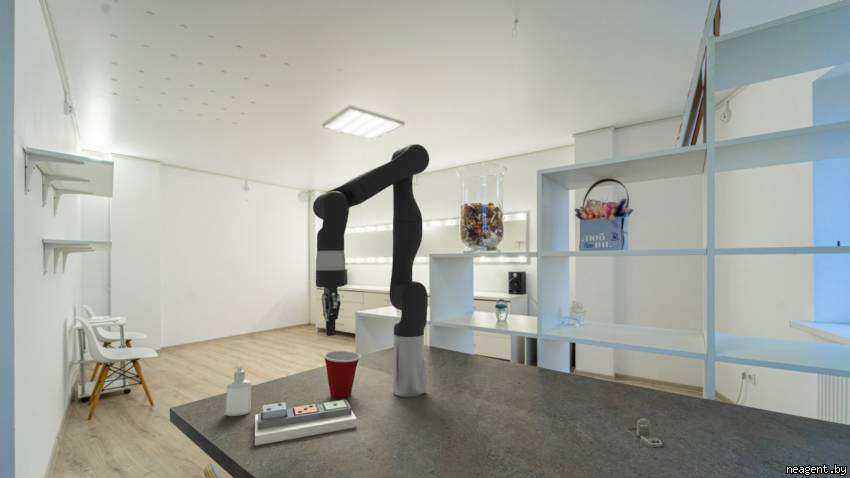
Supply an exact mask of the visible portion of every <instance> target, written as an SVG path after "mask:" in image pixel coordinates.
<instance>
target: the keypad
mask: <svg viewBox="0 0 850 478" xmlns="http://www.w3.org/2000/svg"><path fill="white" fill-rule="evenodd" d="M342 400H343V401H344V402H345V404H346V405H347V408H342V409H336V410H330V411H325V410H324V407H323V403H328V402H329V401H326V402H318V403H313V404H312V403H311V404H310V405H314V404H315V405H316V408H317V410H318V412H317V413H311V414H304V415H298V416H294V407H295V406H292V407H286V408H287V413H286V416H280V417H273V418H267V419H263V411H259V412H258V414H255V417H254V418H255V419H254V421H255V423H254V446H260V445H266V444H271V443H277V442H283V441H287V440H293V439H299V438H304V437H309V436H315V435H316V436H317V435H321V434H325V433H326V434H327V433H331V432H336V431H338V432H339V431H342V430H348V429H353V428H357V427H358V426H357V425H358V424H357V422H358V421H357V419H358V418H357V417H356V415H355V414H354V412H353V410H352V407H351V405H350V403H349V402H348V400H347V398H345V399H337V401H342ZM335 401H336V400H333V401H330V402H335ZM308 405H309V404H305V405H304V406H308ZM301 406H302V405H299V406H298V405H297V407H301Z"/></svg>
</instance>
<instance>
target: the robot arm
mask: <svg viewBox="0 0 850 478" xmlns="http://www.w3.org/2000/svg"><path fill="white" fill-rule="evenodd" d="M429 164H430V156H429V152H428V150H427V149H426V148H425V147H424V145H421V144H418V143H412V144H407V145H405V146H403V147H400V148H397V150H395V151H394V152H393V153H392V155H391V160H389V161H388V162H386V163H384V164H382V165H379V166H377V167H376V166H375V167H373V168H372V169H369V170H368V171H365V172H363V173H361V174H359V175H357V176H356V177H354V178H351V179H350V180H348V181H347V182H344V183H343V184H342V185H340V186H338V187H335V188H333V189H331V190H328V191H326V192H324V193H322V194H320V195H319V196H317V197H316V198H315V200H314V201H313V204H312V210H313V213H314V215H315V216H316V217H317V218H319V219H320V220H322V225H321V228H320V229H319V230H318V231H317V235H316V254H315V255H316V256H315V287H317V288H324V289H323V293H322V294H321V298H320V299H321V303H322V304H321V305H322V315H323V318H324V321H325V336H327V337H333V336H336V321H337V320H338V318H339V313H340V308H341V304H342V303H341V299H340V295H341V294H339V293H338V288H343V287H345V285H346V256H345V255H346V254H345V233H346V229H347V224H348V221H349V220H348V219H349V214H350V208H352V207H355V206H359V205H361V204H362V203H365V202H366V201H367V200H369V199H371V198H373V197H374V196H376V195H378V194H379V193H381V192H382V191H384V190H386V189H388V188H389V187H390V186H392V193H393V195H392V199H393V200H392V201H393V202H392V203H393V204H392V206H393V207H392V209H393V211H392V212H393V213H392V214H393V215H392V263H391V265H392V266H391V267H392V268H391V274H390V275H391V277H390V284H389V301H390V303H391V305H392V307H393V308H394V309H396V310H399V311H401V313H400V314H401V315H400V316H401V317H400V320H399V322H396V323H395V324H394V326H393V356H392V357H393V359H392V360H393V363H392V365H393V368H392V369H393V373H392V374H393V376H392V378H393V379H392V380H393V381H392V389H393V390H392V391H393V394H394V395H396V396H398V397H402V398H414V397H418V396H421V395H422V394H425V393H426V394H427V360H426V359H425V328H426V325H427V322H428V321H427V320H428V304H429V303H428V301H429V300H428V299H429V298H428V297H429V296H428V292H427V291H428V290H427V288H426V287H425V285H424V284H423V283H421V282H419V281H415V280H414V281H413V269H414V268H413V266H414V262H415V259H416V257H417V254H418V251H419V250H420V247H421V244H422V241H423V216H422V212H421V210H420V206H419V205H418V203H417V201H416V198H415V196H414V191H413V184H414V183H413V180H414V176H416V175H419V174H421V173H423V172H425V171H426V169H427V168H428V166H429Z"/></svg>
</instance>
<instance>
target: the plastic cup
mask: <svg viewBox="0 0 850 478" xmlns="http://www.w3.org/2000/svg"><path fill="white" fill-rule="evenodd" d="M361 357H362V356H361V354H360V353H357V352H354V351H350V350H349V351H348V350H335V351H334V350H333V351H327V352H326V353H324V354H323V358H324V361H325V362H324V363H325V367H326V374H327V382H328V387H329V395H330V398H331V399H334V400H345V399H347V398H349V397H352V396H351V395H352V390H353V385H354V383H355V382H354V381H355V375H356V371H357V367H358V364H359V360H360V359H361Z"/></svg>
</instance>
